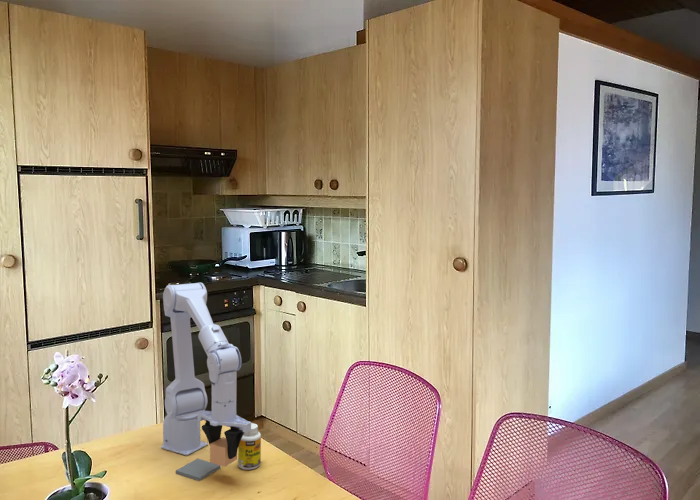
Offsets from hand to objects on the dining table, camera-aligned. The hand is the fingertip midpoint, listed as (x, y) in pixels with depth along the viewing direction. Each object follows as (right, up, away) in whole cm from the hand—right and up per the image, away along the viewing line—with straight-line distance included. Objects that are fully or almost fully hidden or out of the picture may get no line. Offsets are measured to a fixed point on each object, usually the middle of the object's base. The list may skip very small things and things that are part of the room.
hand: (223, 454), depth 136 cm
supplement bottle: (+5, -6, +8) cm, 11 cm away
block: (0, -2, 0) cm, 2 cm away
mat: (-7, -5, +4) cm, 10 cm away
